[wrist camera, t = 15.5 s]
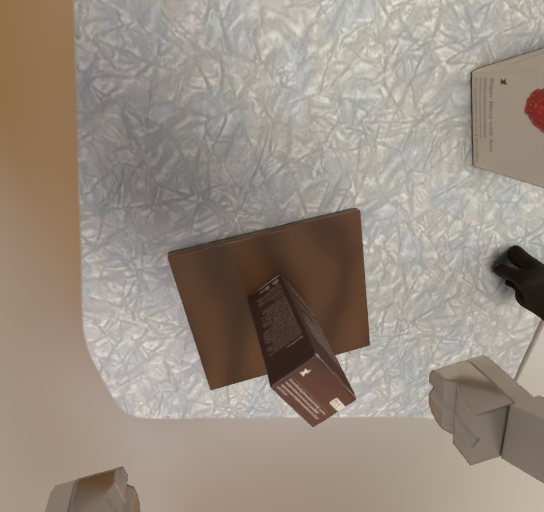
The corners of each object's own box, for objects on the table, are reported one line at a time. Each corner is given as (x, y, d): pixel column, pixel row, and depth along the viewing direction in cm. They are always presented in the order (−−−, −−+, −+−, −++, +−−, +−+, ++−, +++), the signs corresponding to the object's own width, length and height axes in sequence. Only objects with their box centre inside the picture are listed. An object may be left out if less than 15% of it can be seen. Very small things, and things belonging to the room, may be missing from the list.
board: (210, 384, 42) (210, 390, 41) (167, 252, 35) (167, 256, 34) (366, 340, 44) (370, 345, 43) (356, 207, 37) (360, 210, 36)
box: (243, 299, 37) (268, 388, 27) (281, 271, 37) (321, 350, 26) (278, 337, 40) (313, 431, 29) (314, 311, 40) (362, 397, 29)
